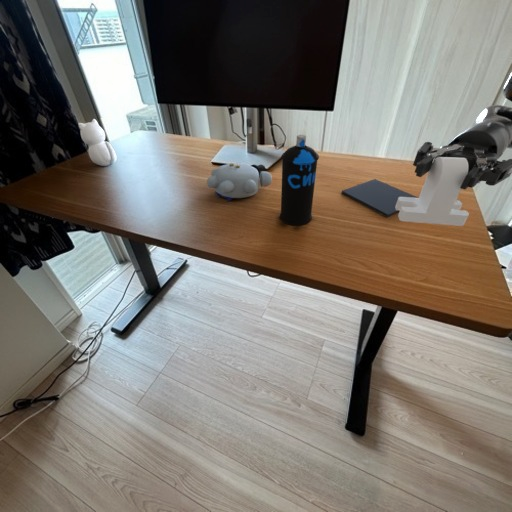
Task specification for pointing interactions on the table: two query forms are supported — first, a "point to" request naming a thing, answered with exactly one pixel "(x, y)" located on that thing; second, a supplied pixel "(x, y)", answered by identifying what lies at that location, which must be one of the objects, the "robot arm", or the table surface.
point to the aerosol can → (298, 183)
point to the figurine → (238, 180)
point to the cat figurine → (97, 143)
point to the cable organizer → (438, 195)
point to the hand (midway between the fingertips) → (441, 176)
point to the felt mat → (377, 196)
